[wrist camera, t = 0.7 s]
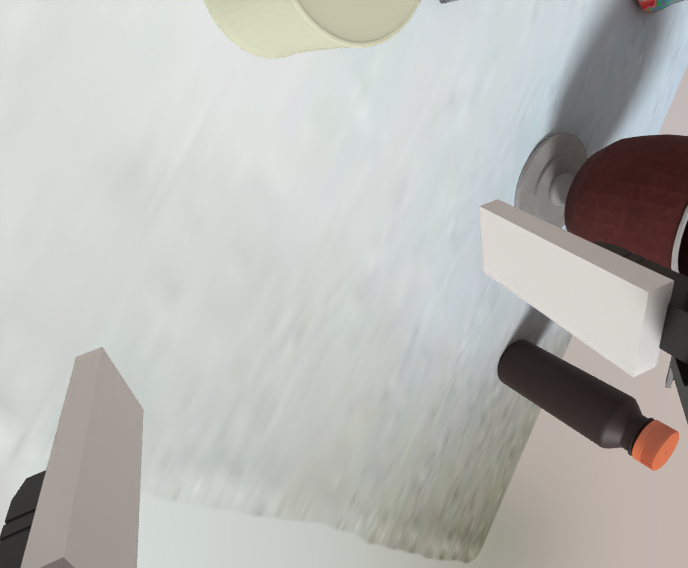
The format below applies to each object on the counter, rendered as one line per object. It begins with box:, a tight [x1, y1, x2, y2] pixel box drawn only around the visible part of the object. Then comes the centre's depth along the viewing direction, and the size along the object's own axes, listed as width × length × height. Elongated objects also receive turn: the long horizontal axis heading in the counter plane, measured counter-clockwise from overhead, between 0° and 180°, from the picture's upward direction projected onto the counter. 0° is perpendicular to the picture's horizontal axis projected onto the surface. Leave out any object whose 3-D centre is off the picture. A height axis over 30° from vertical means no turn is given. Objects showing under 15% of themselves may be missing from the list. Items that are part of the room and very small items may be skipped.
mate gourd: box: [515, 133, 688, 277], centre depth 46 cm, size 16×14×20 cm
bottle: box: [498, 340, 679, 470], centre depth 56 cm, size 7×7×20 cm
